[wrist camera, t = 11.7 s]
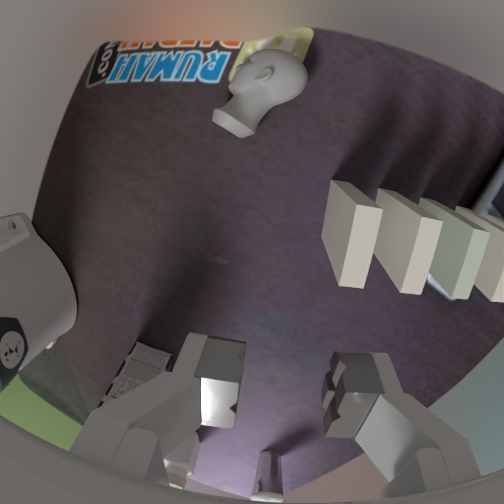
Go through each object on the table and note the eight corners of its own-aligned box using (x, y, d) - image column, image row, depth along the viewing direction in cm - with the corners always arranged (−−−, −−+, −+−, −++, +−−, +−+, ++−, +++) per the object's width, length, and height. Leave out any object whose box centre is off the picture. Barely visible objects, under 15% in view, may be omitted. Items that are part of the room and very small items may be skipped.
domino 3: (407, 249, 26) (451, 297, 18) (420, 197, 24) (473, 228, 16) (421, 251, 26) (467, 299, 18) (434, 200, 24) (490, 232, 16)
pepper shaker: (201, 444, 40) (188, 495, 31) (176, 440, 40) (160, 489, 31) (198, 430, 38) (184, 484, 30) (171, 426, 39) (154, 478, 30)
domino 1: (321, 236, 26) (338, 285, 18) (331, 179, 25) (356, 204, 16) (338, 238, 26) (363, 288, 18) (349, 182, 25) (383, 209, 16)
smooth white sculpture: (277, 50, 22) (320, 87, 22) (208, 112, 24) (246, 152, 24) (265, 25, 18) (315, 64, 18) (184, 96, 20) (227, 141, 20)
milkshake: (292, 459, 40) (291, 513, 31) (258, 462, 41) (253, 515, 32) (287, 446, 38) (286, 504, 29) (251, 448, 39) (245, 505, 30)
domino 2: (366, 242, 26) (400, 292, 18) (378, 187, 24) (421, 216, 16) (382, 245, 26) (420, 294, 18) (394, 191, 24) (443, 221, 16)
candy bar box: (167, 408, 37) (130, 510, 22) (133, 396, 37) (88, 492, 22) (176, 352, 33) (125, 476, 18) (135, 338, 33) (69, 451, 18)
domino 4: (443, 255, 26) (491, 301, 18) (456, 205, 24) (513, 238, 16) (455, 256, 26) (503, 302, 18) (468, 208, 24) (525, 241, 16)
